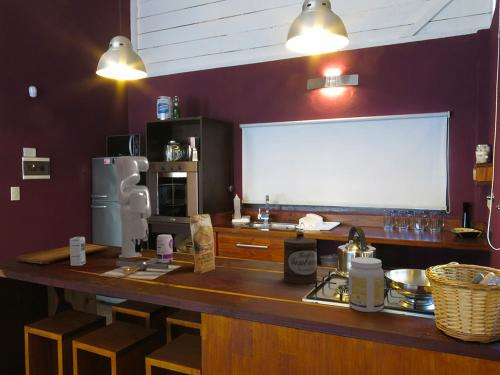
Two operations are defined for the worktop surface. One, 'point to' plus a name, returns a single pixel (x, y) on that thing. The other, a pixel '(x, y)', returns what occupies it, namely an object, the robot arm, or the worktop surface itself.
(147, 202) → the robot arm
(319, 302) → the worktop surface
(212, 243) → the pancake mix bag
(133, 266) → the capstan
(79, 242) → the syrup box
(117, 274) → the striped dish towel
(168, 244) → the supplement can
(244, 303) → the worktop surface
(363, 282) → the supplement tub
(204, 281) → the worktop surface
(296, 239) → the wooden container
